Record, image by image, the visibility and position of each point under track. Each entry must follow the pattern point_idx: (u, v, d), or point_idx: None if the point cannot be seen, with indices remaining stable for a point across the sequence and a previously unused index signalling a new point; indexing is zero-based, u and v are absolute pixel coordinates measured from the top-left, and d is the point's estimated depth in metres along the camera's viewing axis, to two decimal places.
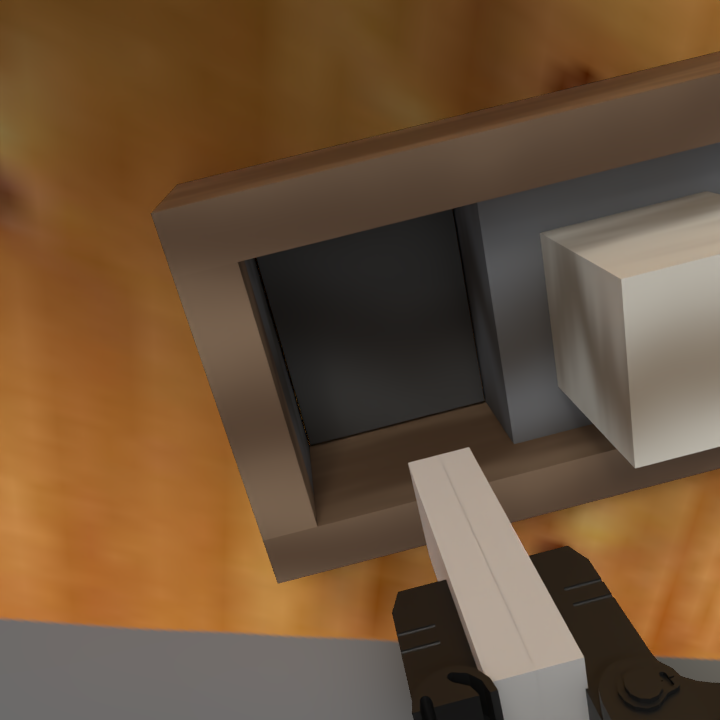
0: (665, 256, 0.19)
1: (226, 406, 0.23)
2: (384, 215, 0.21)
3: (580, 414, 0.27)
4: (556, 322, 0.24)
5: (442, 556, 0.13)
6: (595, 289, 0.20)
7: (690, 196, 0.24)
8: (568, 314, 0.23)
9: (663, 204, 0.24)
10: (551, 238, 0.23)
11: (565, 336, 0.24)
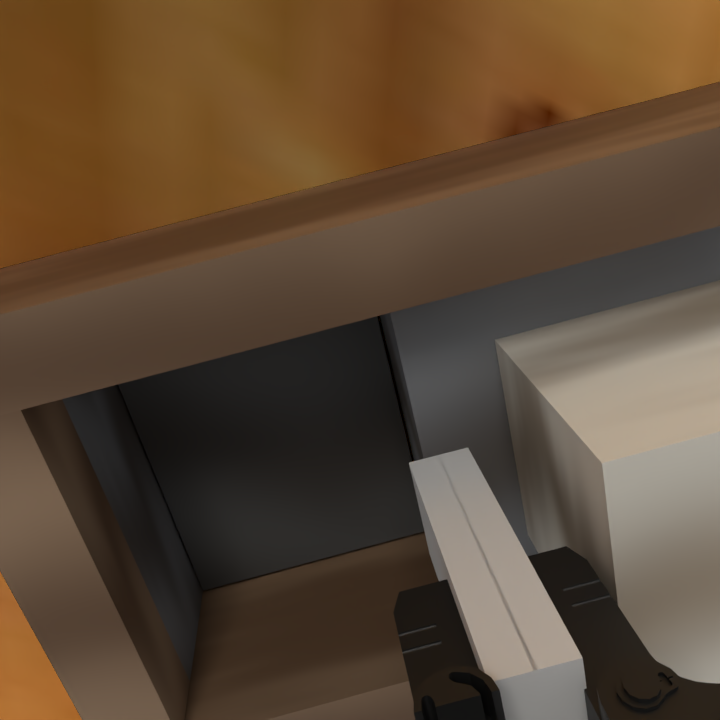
0: (671, 416, 0.12)
1: (30, 600, 0.16)
2: (236, 338, 0.14)
3: None
4: (520, 460, 0.18)
5: (443, 556, 0.13)
6: (567, 453, 0.13)
7: (705, 286, 0.17)
8: (534, 461, 0.16)
9: (668, 299, 0.17)
10: (509, 353, 0.16)
11: (533, 484, 0.17)
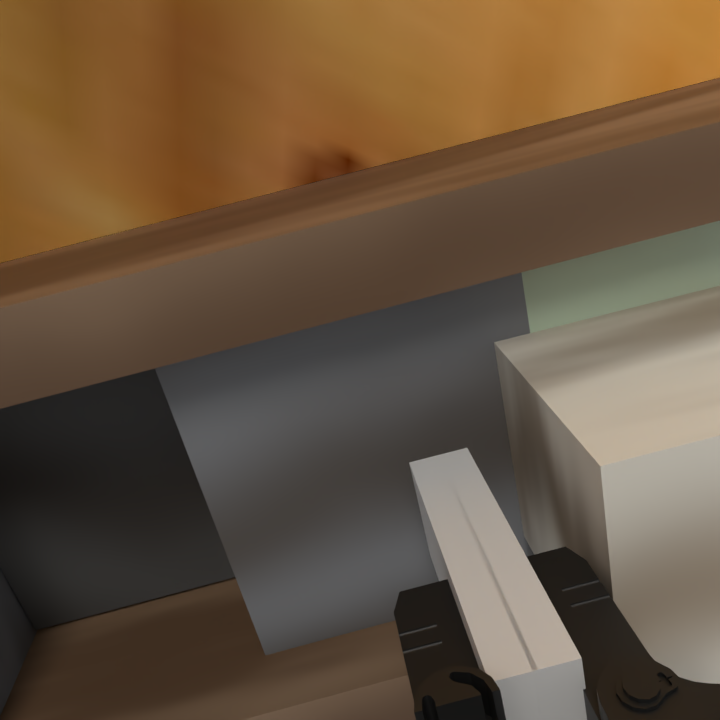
0: (668, 420, 0.12)
1: None
2: None
3: (352, 616, 0.20)
4: (518, 462, 0.18)
5: (443, 556, 0.13)
6: (565, 456, 0.13)
7: (703, 292, 0.17)
8: (531, 463, 0.16)
9: (666, 304, 0.17)
10: (508, 355, 0.16)
11: (530, 486, 0.17)
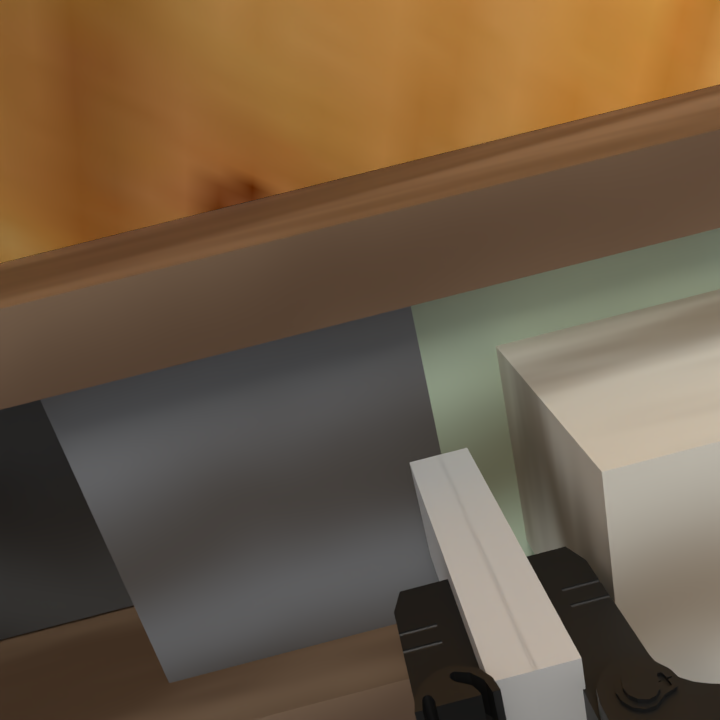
0: (670, 425, 0.12)
1: None
2: None
3: (256, 644, 0.20)
4: (520, 466, 0.18)
5: (444, 555, 0.13)
6: (566, 460, 0.13)
7: (706, 295, 0.17)
8: (534, 467, 0.16)
9: (668, 307, 0.17)
10: (510, 359, 0.16)
11: (532, 490, 0.17)
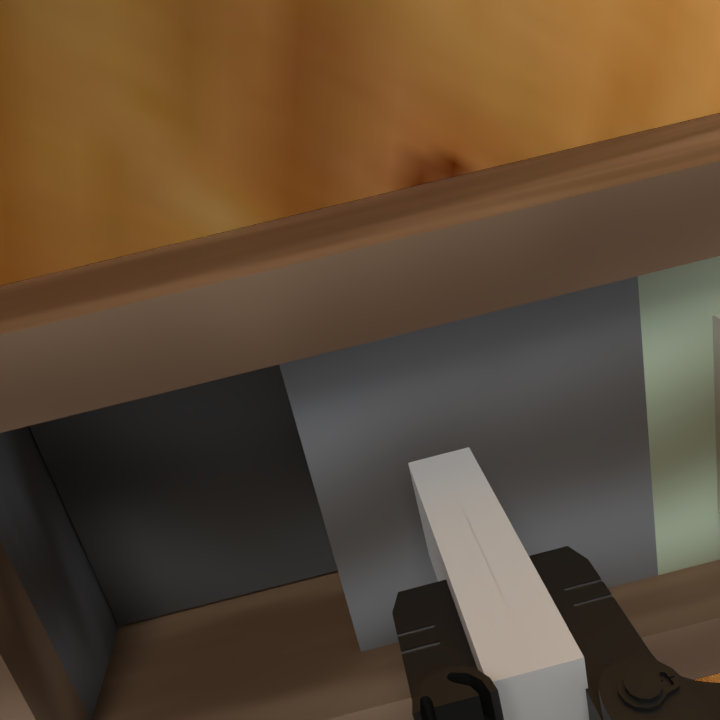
0: None
1: None
2: (109, 392, 0.14)
3: None
4: None
5: (442, 556, 0.13)
6: None
7: None
8: None
9: None
10: None
11: None
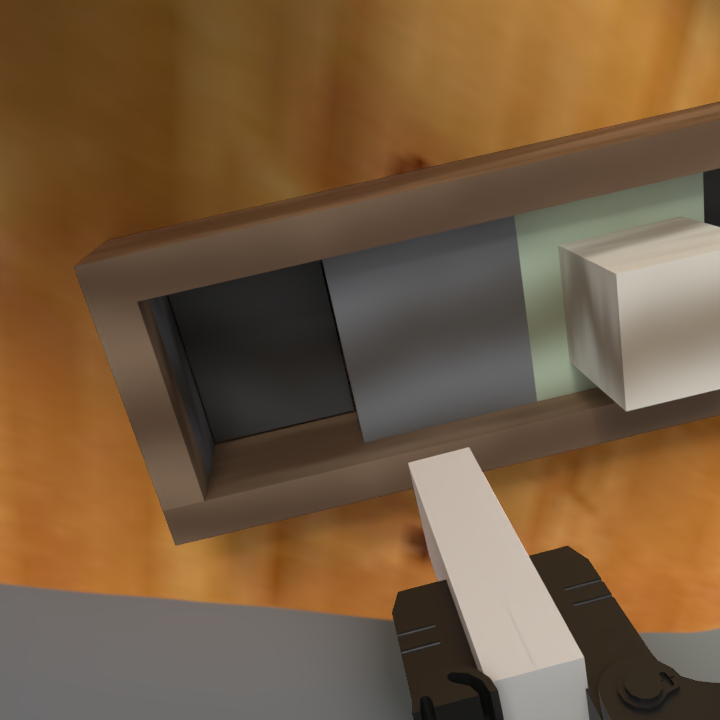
0: (646, 260, 0.27)
1: (131, 406, 0.31)
2: (243, 270, 0.29)
3: (415, 420, 0.35)
4: (569, 312, 0.33)
5: (442, 556, 0.13)
6: (598, 283, 0.28)
7: (668, 220, 0.32)
8: (578, 304, 0.31)
9: (648, 225, 0.32)
10: (567, 248, 0.31)
11: (576, 321, 0.32)
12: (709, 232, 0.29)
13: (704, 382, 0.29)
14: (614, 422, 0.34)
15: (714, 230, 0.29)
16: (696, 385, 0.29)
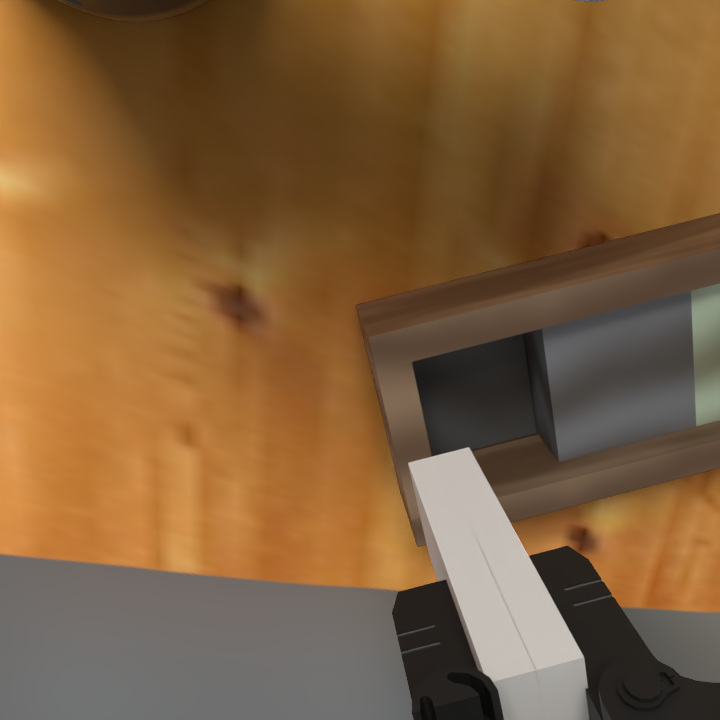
0: None
1: (397, 441, 0.39)
2: (493, 335, 0.38)
3: (600, 443, 0.43)
4: None
5: (442, 556, 0.13)
6: None
7: None
8: None
9: None
10: None
11: None
12: None
13: None
14: None
15: None
16: None
